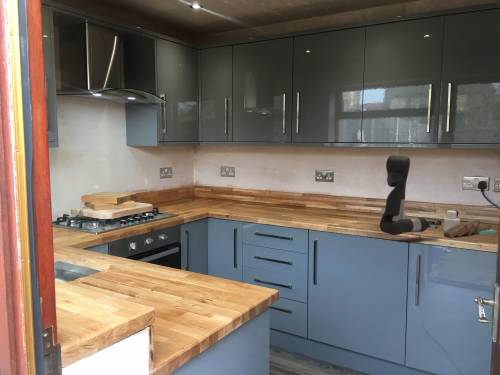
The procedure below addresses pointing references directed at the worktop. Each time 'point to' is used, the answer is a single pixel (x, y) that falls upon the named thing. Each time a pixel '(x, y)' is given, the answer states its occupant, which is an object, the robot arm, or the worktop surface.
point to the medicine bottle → (451, 219)
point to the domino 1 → (455, 230)
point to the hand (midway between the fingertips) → (440, 222)
